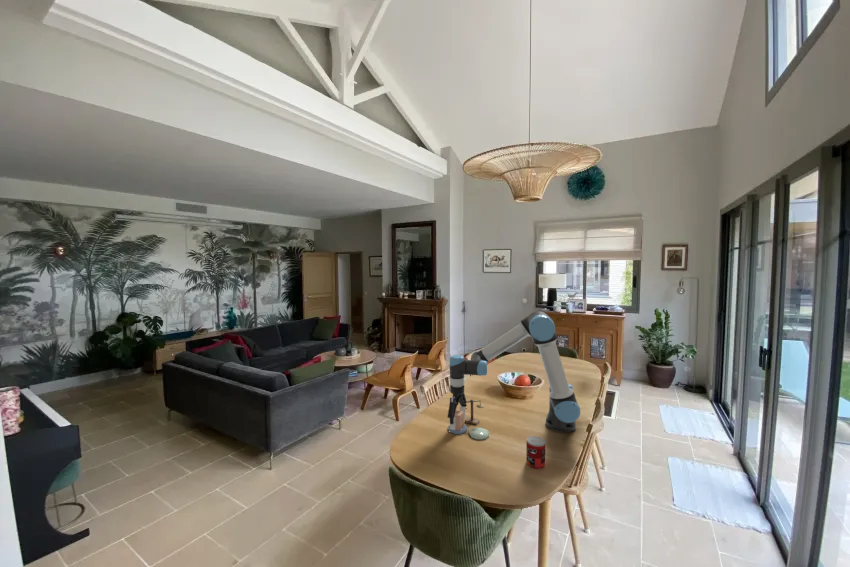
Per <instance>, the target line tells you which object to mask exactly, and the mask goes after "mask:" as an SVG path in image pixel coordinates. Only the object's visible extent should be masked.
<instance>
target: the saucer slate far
mask: <svg viewBox="0 0 850 567" xmlns="http://www.w3.org/2000/svg"><path fill="white" fill-rule="evenodd" d="M467 426H468V425H466V424H465V423H464V427H463V428H462V429H461V430H456V429H455V430H452V429H450V424H449V425H448V427H447V429H448V432H449V431H450V432H451V433H450V432H449V433H450V434H452V433H454V435H463V433H464V434H465V432H466V431H468V427H467ZM466 433H467V432H466Z"/></svg>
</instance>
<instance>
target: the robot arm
mask: <svg viewBox="0 0 850 567" xmlns="http://www.w3.org/2000/svg"><path fill="white" fill-rule="evenodd" d="M556 331H557V330H556V325H555V322H554V320H553V318H551V317H550V316H549V315H548V314H547V313H546V312H544V311H542V310H541V311H539V310H536V311H533V312H531V313H530V314H528V315H527V316H526V317H524V318H523V319H521V320H519V324H517V325H515V327H513V328H512V329H510V330H509V331H507V332H506V333H504V334H502V335H501V336H499V337H498V338H496V339H495V340H493V341H492V342H490V343H489V344H487V345H485V346H484V347H483V348H481V349H479V350H476V351H474V352H472V355H471V357H470V359H465V356H464V355H462V354H453V355H451V356H450V357H449V392H450V393H451V394H452V397H449V405H448V411H447V418H448V419H449V425H450V429H452V430H455V417H454V416H455V412H456V410H457V407H458V405H460V406H459V411H461V412H464V419H465V420H466V409H465V406H467V407H468V404H467V402H466V401H467V399H466V394H465V375H467V376H481V377H482V376H486V375H488V363H489V362H490V361H492V360H493V359H494V358H496V357H498V356H499V355H500V354H502V353H504V352H505V351H508V349H510V348H512V347H513V346H515V345H516V344H518V343H519V342H521V341H522V340H524V339H526V338H528V337H531V339H532V343H533V345H535V346H537V347H538V348H537V349H538V351H539V354H540V357H541V358H540V359H541V362H542V364H543V368H544V371H545V375H546V377H547V381H548V384H549V388H548V390H549V392H548V393H549V396H548V397H549V398H548V400H549V403H548V404H549V406H548V407H549V408H548V411H547V412H548V413H547V415H546V417H545V425H546V427H547V428H549V429H550V430H552V431H555V432H560V433H571V432H574V431H575V430H576V428H577V423H576V421H578V419H579V418H580V416H581V408H580V405H579V404H578V401H577V398H576V394H575V392H574V391H575V390H574V387H573V385H572V384H571V383H568V379H567V377H566V372H565V368H564V367H563V364H562V360H561V359H562V358H561V356H560V353H559V349H558V346H557V344H556V342H557V340H558V335H557V332H556Z"/></svg>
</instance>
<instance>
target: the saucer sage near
mask: <svg viewBox="0 0 850 567" xmlns="http://www.w3.org/2000/svg"><path fill="white" fill-rule="evenodd" d="M468 432H469V434H468V435H469V436H471V437H470V438H472V439H473V438H474V440H477V441H483V440H487V439H488V438H490V432H489V430H488V429H486V428H483V427H473V428H471V429H470V430H469V431H468Z"/></svg>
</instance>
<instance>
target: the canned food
mask: <svg viewBox="0 0 850 567" xmlns="http://www.w3.org/2000/svg"><path fill="white" fill-rule="evenodd" d="M525 443H526V457H525V458H526V464H527V465H528V466H529V467H530V468H532V469H537V470H539V469H543V468H544V467H545V466H546V440H545V439H544V438H543V437H540V436H537V435H531V436H528V437H527V438H526V442H525Z"/></svg>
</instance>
